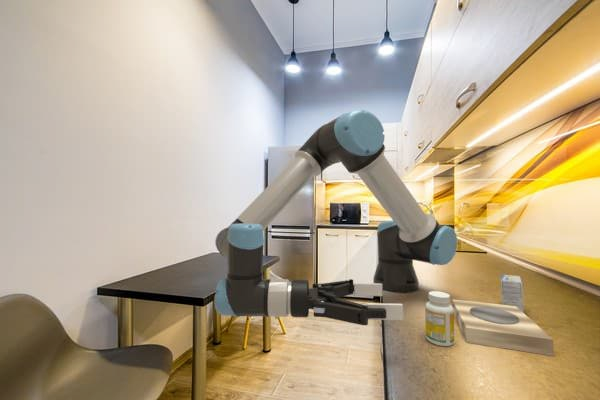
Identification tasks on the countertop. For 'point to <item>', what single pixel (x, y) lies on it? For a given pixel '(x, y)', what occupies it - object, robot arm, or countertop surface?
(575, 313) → the countertop surface
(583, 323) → the countertop surface
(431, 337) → the supplement bottle
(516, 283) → the medicine box
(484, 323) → the birch board
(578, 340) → the countertop surface
